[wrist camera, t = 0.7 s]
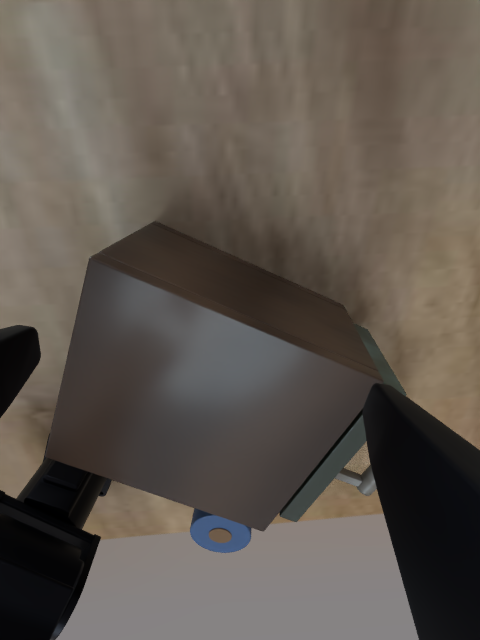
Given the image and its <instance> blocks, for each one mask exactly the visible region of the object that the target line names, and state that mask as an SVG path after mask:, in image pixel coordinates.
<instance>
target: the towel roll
mask: <svg viewBox="0 0 480 640" xmlns="http://www.w3.org/2000/svg"><path fill="white" fill-rule="evenodd" d="M190 533H191V537H192V538H193V540H194V541H195V542H196V543H197V544H198V545H200V546H201V547H203V548H205V549H208V550H210V551H214V552H222V553H227V552H235V551H238V550H241V549H242V548H244V547H246V546H247V545H248V543H249V542H250V539H251V527H248V526H245V525H242V524H240V523H237V522H234V521H231V520H228V519H225V518H222V517H219V516H216V515H213V514H210V513H207V512H204V511H202V510H199V509H196V508H194V513H193V518H192V523H191V527H190Z"/></svg>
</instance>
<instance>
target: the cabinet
mask: <svg viewBox="0 0 480 640" xmlns="http://www.w3.org/2000/svg"><path fill="white" fill-rule="evenodd" d="M383 382H384V380H383V379H382V377H381V375H380V373H379V372H378V369H377V367H376V365H375V363H374V361H373V360H372V358H371V356H370V354H369V352H368V350H367V348H366V346H365V345H364V343H363V341H362V339H361V337H360V335H359V333H358V332H357V330H356V328H355V326H354V324H353V322H352V320H351V318H350V317H349V315H348V313H347V311H346V309H345V307H344V305H342V304H340V303H338V302H335V301H333V300H331V299H329V298H326V297H324V296H322V295H320V294H317V293H315V292H313V291H311V290H308V289H306V288H304V287H302V286H300V285H297V284H295V283H293V282H291V281H288V280H286V279H284V278H282V277H279V276H277V275H275V274H273V273H270V272H268V271H266V270H264V269H261V268H259V267H257V266H255V265H252V264H250V263H248V262H246V261H243V260H241V259H239V258H237V257H235V256H232V255H230V254H228V253H226V252H223V251H221V250H219V249H217V248H214V247H212V246H210V245H208V244H205V243H203V242H201V241H199V240H196V239H194V238H192V237H190V236H187V235H185V234H183V233H181V232H179V231H176V230H174V229H172V228H170V227H167V226H165V225H163V224H161V223H158V222H156V221H154V222H153V223H151V224H149V225H147V226H145V227H143V228H142V229H140V230H138V231H136V232H134V233H133V234H131V235H129V236H127V237H125V238H123V239H122V240H120V241H118V242H116V243H114V244H113V245H111V246H109V247H107V248H105V249H103V250H102V251H100V252H99V253H97V254H95V255H93V256H91V257H90V258H89V262H88V266H87V271H86V275H85V280H84V284H83V289H82V293H81V298H80V302H79V307H78V311H77V316H76V320H75V325H74V329H73V334H72V338H71V343H70V347H69V352H68V356H67V361H66V365H65V369H64V374H63V378H62V383H61V387H60V392H59V396H58V401H57V405H56V410H55V414H54V419H53V423H52V428H51V432H50V437H49V441H48V446H47V450H46V455H45V457H47V458H50V459H53V460H56V461H59V462H61V463H64V464H67V465H70V466H73V467H76V468H79V469H82V470H85V471H88V472H91V473H94V474H96V475H99V476H102V477H105V478H108V479H111V480H114V481H117V482H120V483H123V484H126V485H129V486H132V487H134V488H137V489H140V490H143V491H146V492H149V493H152V494H155V495H158V496H161V497H164V498H167V499H169V500H172V501H175V502H178V503H181V504H184V505H187V506H190V507H193V508H196V509H199V510H202V511H204V512H207V513H210V514H213V515H216V516H219V517H222V518H225V519H228V520H231V521H234V522H237V523H240V524H242V525H245V526H248V527H251V528H254V529H257V530H260V531H264V530H265V529H266V528H267V527H268V526H269V524H270V523H271V522H272V521H273V519H274V518H275V517H276V516H277V514H278V513H279V512H280V511H281V509H282V508H283V507H284V506H285V504H286V503H287V502H288V501H289V499H290V498H291V497H292V496H293V494H294V493H295V492H296V491H297V489H298V488H299V487H300V486H301V484H302V483H303V482H304V481H305V480H306V478H307V477H308V476H309V475H310V473H311V472H312V471H313V470H314V468H315V467H316V466H317V465H318V463H319V462H320V461H321V460H322V458H323V457H324V456H325V455H326V453H327V452H328V451H329V450H330V448H331V447H332V446H333V445H334V443H335V442H336V441H337V440H338V438H339V437H340V436H341V435H342V434H343V432H344V431H345V430H346V429H347V427H348V426H349V425H350V424H351V422H352V421H353V420H354V419H355V417H356V416H357V415H358V414H359V412H360V411H361V410H362V409H363V407H364V404H365V401H366V399H367V396H368V394H369V392H370V389H371V387H372V385H373V384H375V383H381V384H383Z"/></svg>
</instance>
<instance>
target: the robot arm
mask: <svg viewBox="0 0 480 640" xmlns="http://www.w3.org/2000/svg"><path fill="white" fill-rule="evenodd" d="M40 357H41V352H40V345H39V338H38V332H37V330H36V329H35V328H34V327H29V326H23V325H16V326H11V327H7V328H3V329H0V418H1V416H2V415H3V414H4V413H5V411H6V410H7V409H8V407H9V406H10V404H11V403H12V402H13V400H14V399H15V397H16V396H17V394H18V393H19V391H20V390H21V388H22V387H23V385H24V384H25V382H26V381H27V380H28V378H29V377H30V375H31V374H32V372H33V371H34V369H35V368H36V366H37V365H38V363H39V361H40ZM363 421H364V427H365V433H366V440H367V446H368V452H369V458H370V464H371V469H372V473H373V477H374V480H375V484H376V487H377V491H378V495H379V498H380V502H381V505H382V509H383V512H384V516H385V519H386V523H387V527H388V530H389V533H390V537H391V541H392V545H393V548H394V552H395V555H396V558H397V562H398V566H399V570H400V573H401V577H402V580H403V584H404V588H405V591H406V595H407V598H408V602H409V605H410V609H411V613H412V616H413V620H414V623H415V626H416V630H417V634H418V638H419V640H480V450H479V449H477V448H476V447H475V446H473V445H472V444H471V443H469V442H468V441H466V440H465V439H464V438H462V437H461V436H460V435H458V434H457V433H455V432H454V431H453V430H451V429H450V428H449V427H447V426H446V425H444V424H443V423H442V422H440V421H439V420H438V419H436V418H435V417H434V416H432V415H431V414H429V413H428V412H427V411H425V410H424V409H423V408H421V407H420V406H418V405H417V404H416V403H414V402H413V401H412V400H410V399H409V398H408V397H406V396H405V395H403V394H402V393H401V392H399V391H398V390H397V389H395V388H394V387H392V386H391V385H387V384H381V383H375V384H373V385H372V387H371V389H370V392H369V394H368V396H367V399H366V401H365V404H364V407H363ZM49 437H50V434H49ZM49 437H48V441H49ZM48 441H47V446H48ZM47 446H46V450H47ZM45 455H46V451H45ZM45 455H44V460H43V463H42V465H41V466H40V467H39V469H38V470H37V471H36V473H35V474H34V475H33V477H32V478H31V479H30V481H29V482H28V484H27V485H26V486H25V488H24V489H23V490H22V492H21V493H20V494H19V496H18V497H17V498H16V499H15V498H13V497H10V496H8V495H6V494H5V492H3V491H1V490H0V640H55V639H56V638H57V637H58V636H59V634H60V633H61V631H62V630H63V628H64V627H65V625H66V623H67V622H68V620H69V618H70V616H71V614H72V612H73V610H74V608H75V606H76V604H77V602H78V600H79V598H80V595H81V593H82V591H83V588H84V585H85V582H86V579H87V576H88V574H89V571H90V568H91V565H92V561H93V559H94V556H95V553H96V550H97V547H98V544H99V541H100V539H101V537H100V536H98V535H96V534H95V535H92V534H90V533H88V532H86V531H84V530H82V528H83V526H84V524H85V522H86V520H87V518H88V516H89V514H90V512H91V510H92V508H93V506H94V504H95V502H96V500H97V498H98V496H105V495H106V493H107V491H108V489H109V486H110V483H111V481H112V480H111V479H108V478H105V477H102V476H99V475H96V474H94V473H91V472H88V471H85V470H82V469H79V468H76V467H73V466H70V465H67V464H64V463H61V462H59V461H56V460H53V459H50V458H47V457H45Z"/></svg>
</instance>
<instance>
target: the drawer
mask: <svg viewBox="0 0 480 640" xmlns="http://www.w3.org/2000/svg"><path fill="white" fill-rule="evenodd" d="M353 324H354V323H353ZM354 326H355V328H356V330H357V332H358V333H359V335H360V337H361V339H362V341H363V343H364V345H365V346H366V348H367V350H368V352H369V354H370V356H371V358H372V360H373V361H374V363H375V365H376V367H377V369H378V372H379V373H380V375H381V377H382V379H383V380H384V382H383V384H387V385H391V386H392V387H394V388H395V389H397V390H398V391H399V392H401V393H402V394H403V395H405V396H406V392H405V391H404V389H403V387H402V386H401V384H400V382H399V381H398V379H397V377H396V376H395V374H394V372H393V371H392V369H391V368H390V366H389V364H388V363H387V361H386V359H385V358H384V356H383V354H382V353H381V351H380V349H379V348H378V346H377V344H376V343H375V341H374V339H373V338H372V336H371V334H370V333H369V331H368V329H365V328H363V327H361V326H358V325H356V324H354ZM366 441H367V440H366V433H365V427H364V421H363V409H362V410H361V411H360V412H359V414H358V415H357V416H356V417H355V419H354V420H353V421H352V422H351V424H350V425H349V426H348V427H347V429H346V430H345V431H344V432H343V434H342V435H341V436H340V437H339V438H338V440H337V441H336V442H335V443H334V445H333V446H332V447H331V448H330V450H329V451H328V452H327V453H326V455H325V456H324V457H323V458H322V460H321V461H320V462H319V463H318V465H317V466H316V467H315V468H314V470H313V471H312V472H311V473H310V475H309V476H308V477H307V478H306V480H305V481H304V482H303V483H302V484H301V486H300V487H299V488H298V489H297V491H296V492H295V493H294V494H293V496H292V497H291V498H290V499H289V501H288V502H287V503H286V504H285V506H284V507H283V508H282V509H281V511H280V517H283V518H286V519H289V520H291V521H294V522H297V521H298V520H299V519H300V517H301V516H302V515H303V514H304V513H305V512H306V510H307V509H308V508H309V507H310V506H311V505H312V503H313V502H314V501H315V500H316V499H317V498H318V497H319V495H320V494H321V493H322V492H323V491H324V490H325V488H326V487H327V486H328V485H329V484H330V483H331V482H332V480H333V479H334V478H336V479H338V480H341V481H344V482H346V483H349V484H352V485H354V486H356V487H357V489H358V490H359V491H360V492H361V493H362V494H364V495H366V496H369V495H371V494H372V493H373V492H374V491H375V490H376V489H377V487H376V484H375V480H374V477H373V473H372V469H371V465H370V466H369V467H368V468H367V469H366V470H365V471H364V472H363V473H362V474H361V475H360V474H358V473H355V472H352V471H350V470H347V469H345V468H344V466H345V465H346V464H347V463H348V462H349V461H350V460H351V458H352V457H353V456H354V455H355V454H356V453H357V451H358V450H359V449H360V448H361V447H362V446H363V445H364V443H365V442H366Z"/></svg>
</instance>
